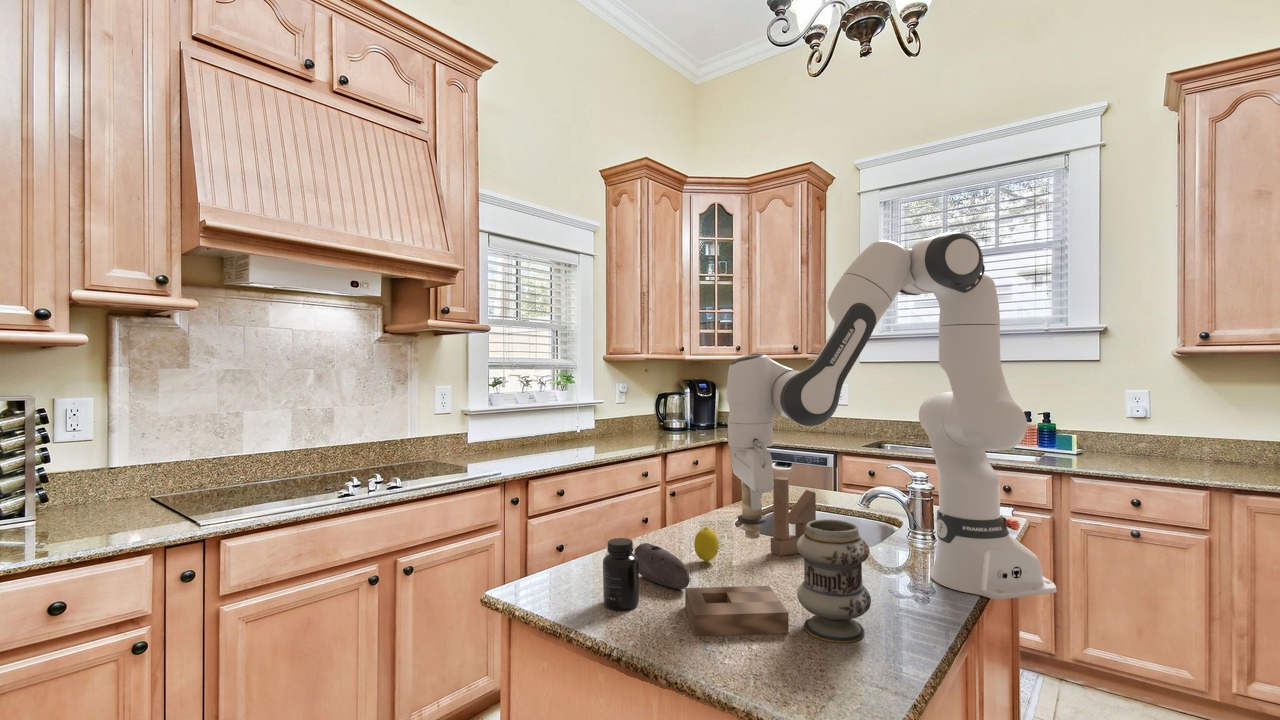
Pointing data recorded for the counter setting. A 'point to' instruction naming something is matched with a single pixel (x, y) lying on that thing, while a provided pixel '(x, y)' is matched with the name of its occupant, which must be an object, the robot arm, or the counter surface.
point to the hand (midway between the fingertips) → (752, 505)
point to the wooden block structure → (789, 517)
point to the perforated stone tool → (661, 566)
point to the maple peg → (750, 515)
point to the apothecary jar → (833, 580)
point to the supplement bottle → (620, 575)
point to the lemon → (706, 544)
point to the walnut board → (735, 611)
